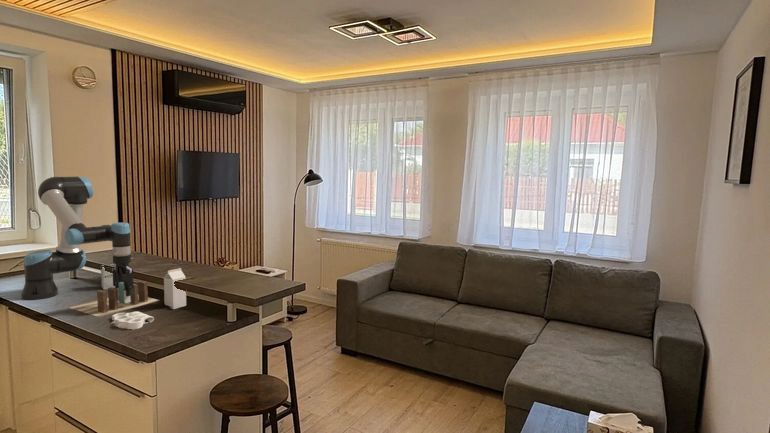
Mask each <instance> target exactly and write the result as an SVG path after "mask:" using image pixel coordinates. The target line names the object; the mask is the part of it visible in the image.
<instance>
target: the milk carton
mask: <svg viewBox="0 0 770 433" xmlns="http://www.w3.org/2000/svg"><path fill="white" fill-rule="evenodd" d="M183 279H186V275H185V273H184V272H183V270H182V268H181V267H177V268H175V269H169V270H167V273H166V274H165V276H164V277H163V288H164V289H163V292H164V295H163V296H164V297H163V298H164V305H165V306H168V309H172V310H176V309H179V308H183V307H186V306H187V291H186V292H185V291H183V290H180V289H177V288H176V287H175V286H174V285H175V284H174V282H175V281H178V280H183Z"/></svg>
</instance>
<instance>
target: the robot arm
mask: <svg viewBox="0 0 770 433" xmlns="http://www.w3.org/2000/svg"><path fill="white" fill-rule="evenodd" d="M37 191H38V192H37V193H38V194H37V195H38V198H39V200H40V201H41V203H42V204H44V205H46V206H48V208H49V209H50V211H51V212H52V213H53V215H54V216H55V217H56V219H57V220H58V222H59V223H60V224H61V232H60V239H59V240H60V242H59V243H60V244H59V245H57V246H56V248H55V251H52V250H51V249H44V250H36V251H32V252H29V253H27V254H26V255H25V256H24V257H23V267H24V268H23V269H24V279H25V280H24V281H25V282H24V286H23V289H22V291H21V299H23V300H28V301H29V300H32V301H33V300H41V299H47V298H51V297H55V296H57V295H58V294H59V289H58V286H57V284H56V282H55V280H54V275H57V274H62V273H68V272H75V271H79V270H81V269H83V268H84V267H85V264H86V262H87V256H86V251H85V250H84V249H83V247H82V246H81V245H84V244H85V245H86V244H92V243H93V244H94V243H101V242H111V244H112V245H111V246H112V249H111V250H112V263H113V265H114V264H116V265H115V266H112V271H113V286H115V288H116V289H118V301H119V286H118V283H119V282H124V287H125V289H123V290H124V303H128V302H131V299H130V289H132V288H133V283H134V274H133V273H134V268H131V267H130V263H131V262H132V255H131V254H132V253H131V252H132V250H131V229H130V224H129V222H113V223H112V224H102V225H100V226H89V227H87V226H86V225H85V224H84V222H83V213H84V206H85V205H87V204H88V200H89V199H92V198H93V196H94V188H93V185H92V182H91V181H90V179H89V178H87V176H86V177H85V176H51V177H47V178H46V179H45V180H43V181H42V182H41V183H40V184H39V187H38V190H37Z"/></svg>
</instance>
